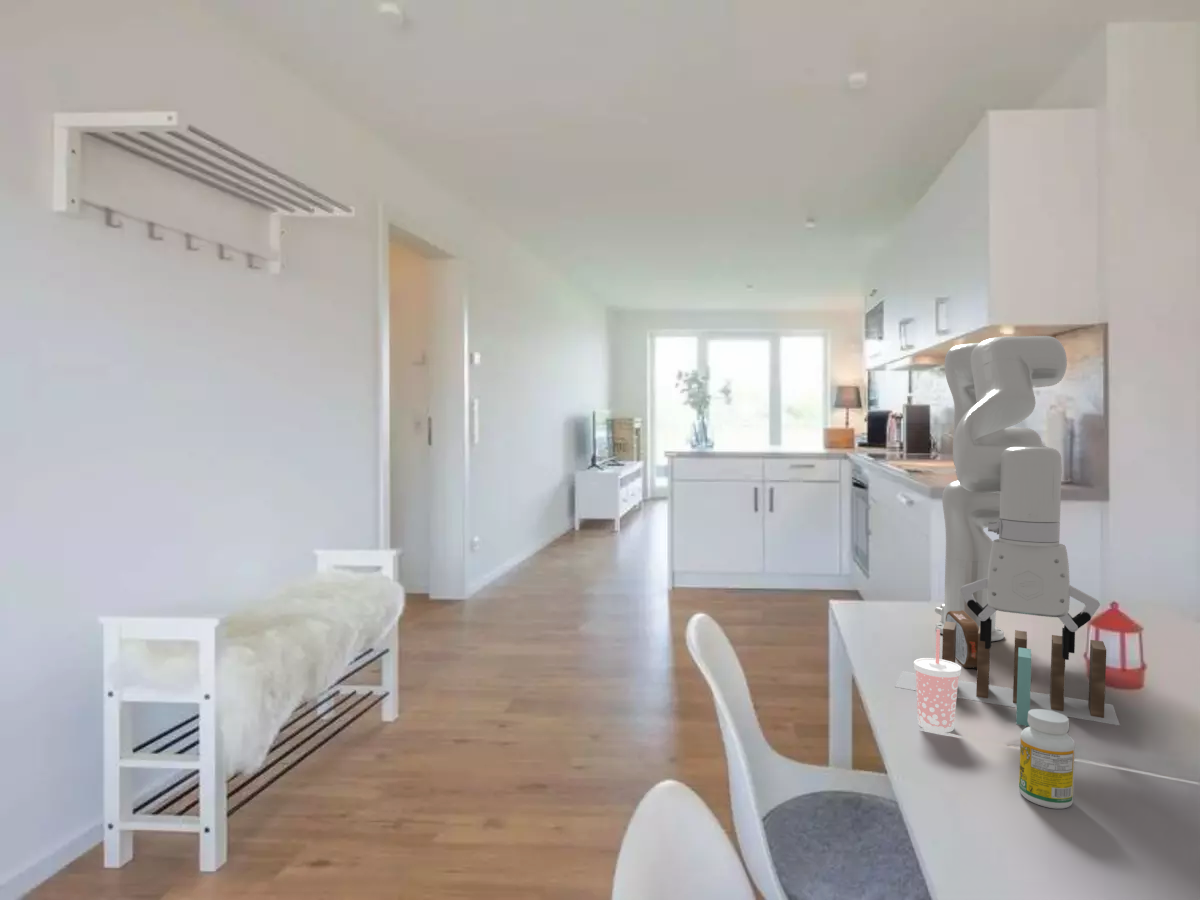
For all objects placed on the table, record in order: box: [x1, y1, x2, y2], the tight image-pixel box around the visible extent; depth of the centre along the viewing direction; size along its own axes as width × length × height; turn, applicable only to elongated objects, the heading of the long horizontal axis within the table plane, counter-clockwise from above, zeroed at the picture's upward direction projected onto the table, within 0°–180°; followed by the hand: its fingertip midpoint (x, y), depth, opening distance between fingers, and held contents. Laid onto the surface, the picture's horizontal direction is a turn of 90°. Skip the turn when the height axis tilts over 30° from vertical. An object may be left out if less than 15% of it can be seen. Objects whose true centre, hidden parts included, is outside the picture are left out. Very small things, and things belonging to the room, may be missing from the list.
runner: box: [894, 670, 1120, 726], centre depth 117 cm, size 30×9×1 cm, turn 61°
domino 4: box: [1015, 647, 1032, 727], centre depth 108 cm, size 2×5×10 cm, turn 151°
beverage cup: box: [913, 629, 962, 735], centre depth 105 cm, size 6×6×14 cm
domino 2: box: [976, 626, 991, 698], centre depth 118 cm, size 2×5×10 cm, turn 151°
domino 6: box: [1087, 639, 1107, 718], centre depth 111 cm, size 2×5×10 cm, turn 151°
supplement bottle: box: [1018, 709, 1076, 810], centre depth 85 cm, size 5×5×10 cm
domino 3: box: [1012, 629, 1028, 703], centre depth 116 cm, size 2×5×10 cm, turn 151°
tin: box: [946, 610, 979, 669], centre depth 135 cm, size 15×3×8 cm, turn 168°
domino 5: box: [1049, 634, 1066, 711], centre depth 113 cm, size 2×5×10 cm, turn 151°
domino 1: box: [941, 622, 956, 663], centre depth 121 cm, size 2×5×10 cm, turn 151°
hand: (1025, 652), depth 107 cm, fingers open, 9 cm apart
